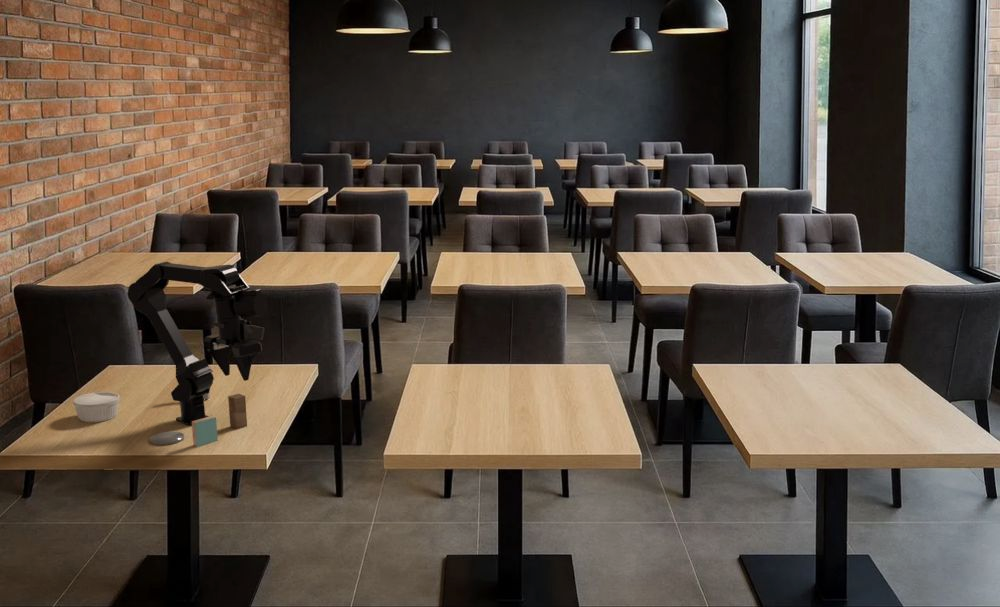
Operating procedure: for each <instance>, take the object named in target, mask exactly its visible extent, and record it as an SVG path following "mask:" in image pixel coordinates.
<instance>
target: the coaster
mask: <svg viewBox="0 0 1000 607" xmlns="http://www.w3.org/2000/svg"><path fill="white" fill-rule="evenodd" d="M184 439H185V433H183V432H181V431H164V432H163V431H162V432H159V433H156V434H154V435H151V436H150V437H149V442H150V444H152V445H154V444H156V446H169V445H174V443H175V444H178V443H180V442H182V441H184Z"/></svg>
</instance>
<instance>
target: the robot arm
mask: <svg viewBox="0 0 1000 607" xmlns="http://www.w3.org/2000/svg"><path fill="white" fill-rule="evenodd" d="M171 281H172V282H173V281H174V282H181V283H189V284H196V285H197V284H198V285H200V286H202V287H203V288H204V289H206V290H209V291H210V292H209V294H208V295H207V296H206V298H205V299H206V300H208V301H209V300H210V301H214V309H215V316H216V321H213V326H214V327H216V328H217V332H218V333H215V334H212V335H211V334H210V335H207V336H205V338H204V339H203V342H202V343H203V349H207V352H208V353H209V354H210V356H211V357H212V358H213V360H214V361H215V362H216V363H215V364H217V365H218V367H219V369H220V370H221V371H222V373H223V374H224V376H226V377H227V376H230V375H231V373H230V372H231V370H230V369H231V366H230V353H231V352H232V353H233V356H232V357H233V360H234V363H235V365H236V366H237V369H238V372H239V373H240V376H241V377H242V379H243V381H244V382H247V381H248V380H249V378H250V374H251V368H252V363H253V360H254V358H255V357H256V356H258V355H260V352H263V345H262V343H261V342H260V341H259V340H261V341H263V338H264V332H265V327H263V326H257V325H252V322H251V321H249V320H245V319H244V318H263V317H265V316H266V314H267V313H268V310H269V301H268V299H267V298H266V296H265V295H264V294H263V293H262V290H261V288H254V289H251V288H250V286H249V285H248V284H247V282H246V281H245V280H244V278H243V277H242V275H241V274H240V273H239V270H237V268H236V266H235V265H233V264H220V265H214V266H213V265H212V266H206V267H205V266H197V265H191V264H180V263H173V262H170V261H163V262H162V261H161V262H159V263H155V264H153V266H151V267H150V269H149V270H148V271H147V272H146V273H144V274H143V275H142V276H140V277H139V278H138V279H137V280H135V282H132V283H131V284H129V286H128V289H127V293H126V295H127V298H128V300H129V302H130V303H131V304H132V305H133V306H134V309H136V310H137V311H138V312H140V313H142V314H143V315H145V316H146V317H147V318H148V320H149V321H150V323H151V325H152V327H153V329H154V330H155V332H156V334H157V335H158V337H159V339H160V340H161V342H162V344H163V346H164V347H165V349H166V351H167V353H168V355H169V356H170V357H171V360H172V362H173V363H174V366H175V378H176V381H177V385H176V386H175V387H174V389H172V390H171V392H170V395H171V397H172V400H173V401H175V402H179V404H180V405H179V406H180V416H179V417H176V418H175V420H176V421H178V422H180V423H183V424H185V425H188V426H190V425H191V426H192V421H195V420H199V419H202V418H206V417H209V416H210V415H209V416H208V415H206V410H205V409H206V407H205V400H204V398H203V395H205V394H208V393H209V392H210V391H211V387H212V386H213V385H214V384H213V383H214V380H215V378H214V375H213V372H214V370H213V369H212V368H211V367H210V366H209V363H208V360H206V358H204V357H203V358H200V359H199V358H197V357H196V356H194V354H193V353H192V350H191V349H190V348H189V345H188V343H187V342H186V341H185V338H184V337H183V335H182V333H181V332H180V330H179V328H178V327H177V325H176V323H175V321H174V319H173V318H172V316H171V314H170V313H169V311H168V308H167V305H166V303H167V295H166V293H165V291H164V290H165V289H166V287H167V286H168V285H169V282H171ZM243 317H244V318H243Z"/></svg>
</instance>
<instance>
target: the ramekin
mask: <svg viewBox="0 0 1000 607" xmlns="http://www.w3.org/2000/svg"><path fill="white" fill-rule="evenodd" d="M120 400H121V396H120V395H119V394H118V393H116V392H109V391H98V392H97V391H96V392H89V393H85V394H81V395H79V396H77V397H75V398H74V399H73V400H72V402H73V406H74V407H75V412H76V415H77V417H78V419H79V420H80V421H82V422H83V421H84V423H101V422H102V423H103V422H106V421H109V420H112V419H114V418H116V417H117V415H118V414H119V406H120Z"/></svg>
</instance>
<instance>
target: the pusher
mask: <svg viewBox="0 0 1000 607" xmlns="http://www.w3.org/2000/svg"><path fill="white" fill-rule="evenodd" d="M227 399H228V413H229V414H228V415H229V427H230V428H233V429H235V430H239V429H243V428H246V427H248V417H247V404H246V395H244V394H241V393H236V394H231V395H228V396H227Z"/></svg>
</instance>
